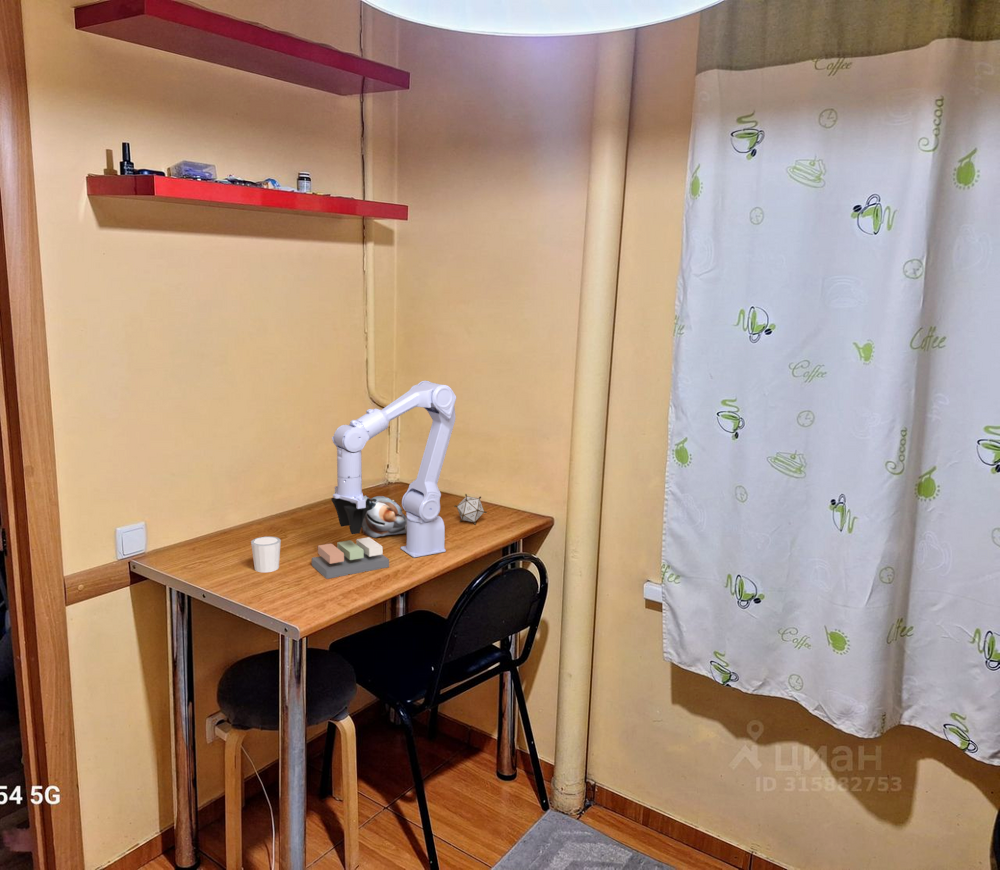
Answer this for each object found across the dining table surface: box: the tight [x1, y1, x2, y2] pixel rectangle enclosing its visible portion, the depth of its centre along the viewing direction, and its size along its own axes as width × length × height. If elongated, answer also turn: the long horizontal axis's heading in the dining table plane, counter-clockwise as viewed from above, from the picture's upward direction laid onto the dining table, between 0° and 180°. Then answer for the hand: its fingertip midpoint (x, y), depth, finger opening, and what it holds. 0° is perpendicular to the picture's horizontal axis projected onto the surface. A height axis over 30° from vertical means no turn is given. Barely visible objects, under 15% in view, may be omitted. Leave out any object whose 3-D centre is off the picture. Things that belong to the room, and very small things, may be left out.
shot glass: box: [250, 536, 282, 573], centre depth 191 cm, size 7×7×7 cm
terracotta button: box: [317, 543, 344, 564], centre depth 191 cm, size 4×8×2 cm, turn 33°
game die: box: [453, 493, 488, 526], centre depth 231 cm, size 9×8×10 cm
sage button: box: [336, 539, 364, 560], centre depth 193 cm, size 4×8×2 cm, turn 33°
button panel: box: [311, 553, 390, 580], centre depth 194 cm, size 16×10×2 cm, turn 123°
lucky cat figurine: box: [361, 494, 407, 539], centre depth 217 cm, size 15×12×14 cm
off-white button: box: [355, 536, 384, 557], centre depth 196 cm, size 4×8×2 cm, turn 33°
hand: (350, 529), depth 192 cm, fingers open, 6 cm apart
